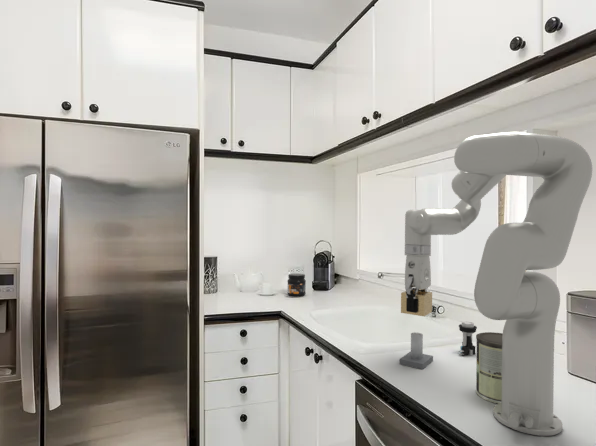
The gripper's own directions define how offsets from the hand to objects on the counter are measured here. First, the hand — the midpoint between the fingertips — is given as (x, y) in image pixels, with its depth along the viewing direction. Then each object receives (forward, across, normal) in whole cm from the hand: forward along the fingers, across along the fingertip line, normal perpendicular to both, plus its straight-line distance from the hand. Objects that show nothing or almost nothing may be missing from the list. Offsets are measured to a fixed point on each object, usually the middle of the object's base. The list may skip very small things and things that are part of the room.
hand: (416, 309), depth 118 cm
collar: (+1, 0, 0) cm, 1 cm away
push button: (+16, +17, -10) cm, 25 cm away
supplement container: (+17, +64, +93) cm, 114 cm away
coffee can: (+16, -10, -24) cm, 31 cm away
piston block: (+16, 0, 0) cm, 16 cm away
